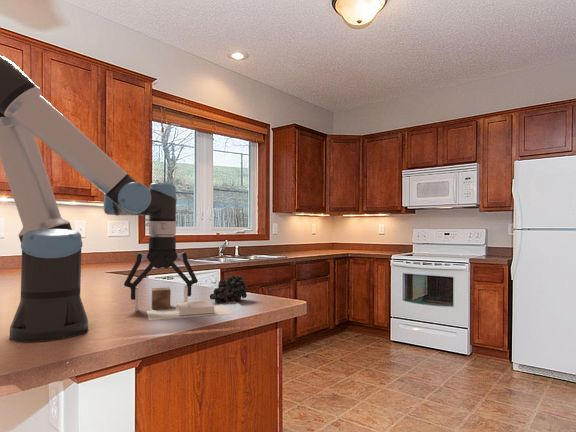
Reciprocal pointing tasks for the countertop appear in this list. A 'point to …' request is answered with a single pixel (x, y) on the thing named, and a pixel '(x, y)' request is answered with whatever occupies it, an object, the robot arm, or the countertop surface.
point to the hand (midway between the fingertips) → (161, 309)
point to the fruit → (230, 290)
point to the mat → (175, 314)
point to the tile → (195, 308)
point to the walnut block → (161, 298)
